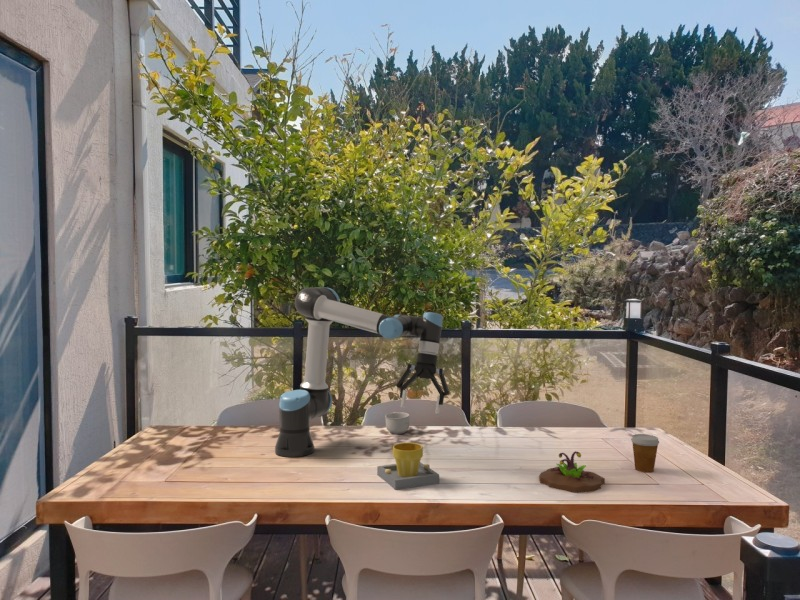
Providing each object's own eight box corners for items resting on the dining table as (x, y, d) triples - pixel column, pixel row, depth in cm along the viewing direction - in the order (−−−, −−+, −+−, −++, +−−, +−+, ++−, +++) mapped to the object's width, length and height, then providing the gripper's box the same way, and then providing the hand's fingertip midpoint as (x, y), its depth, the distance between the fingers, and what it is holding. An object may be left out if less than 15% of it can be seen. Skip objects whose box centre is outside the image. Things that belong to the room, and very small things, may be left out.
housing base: (394, 489, 198) (394, 477, 198) (376, 474, 213) (376, 463, 213) (439, 483, 205) (439, 471, 205) (419, 469, 220) (419, 458, 220)
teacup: (409, 435, 266) (409, 417, 265) (384, 435, 266) (384, 417, 266) (409, 427, 280) (409, 410, 279) (385, 427, 280) (385, 410, 280)
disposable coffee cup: (657, 467, 225) (658, 435, 224) (659, 475, 216) (660, 441, 215) (629, 464, 228) (630, 432, 227) (630, 472, 219) (631, 439, 218)
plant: (582, 498, 194) (583, 463, 193) (530, 482, 208) (531, 450, 207) (613, 484, 207) (613, 451, 207) (562, 470, 222) (563, 439, 221)
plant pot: (388, 477, 206) (388, 448, 206) (398, 468, 216) (398, 440, 215) (417, 481, 203) (417, 451, 202) (426, 471, 212) (426, 443, 212)
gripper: (462, 358, 228) (454, 415, 225) (400, 350, 237) (392, 405, 234) (457, 357, 221) (449, 416, 218) (393, 348, 230) (385, 405, 227)
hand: (419, 410), depth 226 cm, fingers open, 13 cm apart
